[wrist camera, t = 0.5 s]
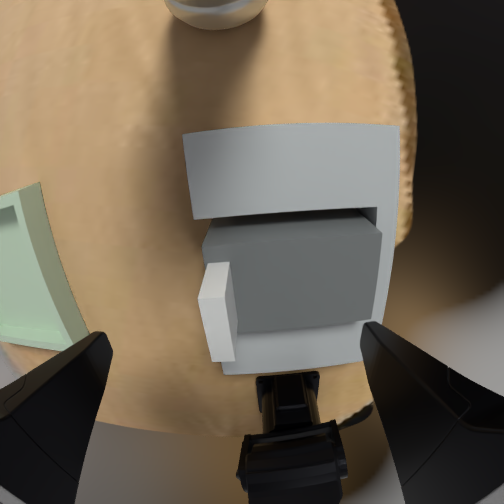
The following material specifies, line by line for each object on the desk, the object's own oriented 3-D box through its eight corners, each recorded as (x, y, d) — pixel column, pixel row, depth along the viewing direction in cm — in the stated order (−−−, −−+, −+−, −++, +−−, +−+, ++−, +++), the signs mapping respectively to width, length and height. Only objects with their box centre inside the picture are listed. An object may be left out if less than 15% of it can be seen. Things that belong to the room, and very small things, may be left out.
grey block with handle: (346, 275, 23) (389, 354, 14) (224, 285, 23) (211, 374, 15) (349, 204, 20) (411, 260, 12) (214, 214, 21) (188, 279, 12)
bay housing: (360, 329, 25) (373, 358, 21) (226, 342, 26) (223, 374, 22) (373, 124, 18) (399, 126, 14) (195, 132, 18) (182, 134, 15)
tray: (89, 334, 26) (78, 353, 23) (4, 326, 26) (-7, 339, 23) (39, 181, 19) (18, 190, 16) (-39, 211, 20) (-55, 220, 17)
